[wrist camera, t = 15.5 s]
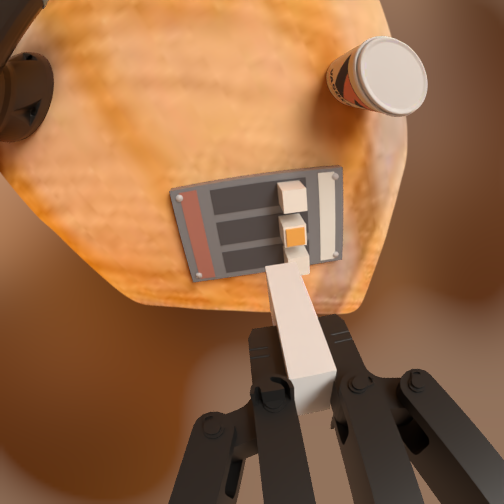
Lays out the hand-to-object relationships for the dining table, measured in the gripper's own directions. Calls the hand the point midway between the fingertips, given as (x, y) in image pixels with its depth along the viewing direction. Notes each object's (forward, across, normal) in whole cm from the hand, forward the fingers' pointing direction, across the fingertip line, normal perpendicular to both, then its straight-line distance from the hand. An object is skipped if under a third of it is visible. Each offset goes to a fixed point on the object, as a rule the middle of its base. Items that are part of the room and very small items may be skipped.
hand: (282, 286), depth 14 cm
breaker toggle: (+25, +5, -8) cm, 26 cm away
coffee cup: (+27, +16, +12) cm, 33 cm away
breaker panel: (+26, +1, -8) cm, 28 cm away
